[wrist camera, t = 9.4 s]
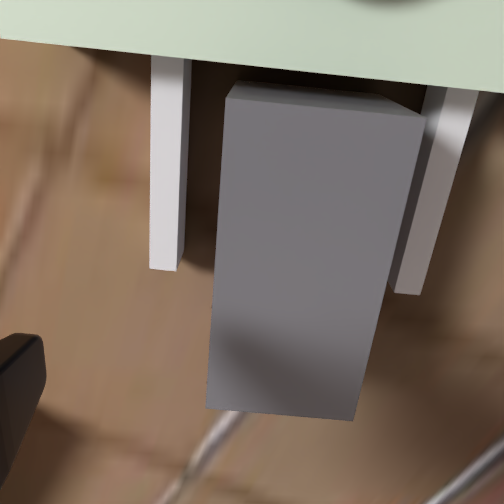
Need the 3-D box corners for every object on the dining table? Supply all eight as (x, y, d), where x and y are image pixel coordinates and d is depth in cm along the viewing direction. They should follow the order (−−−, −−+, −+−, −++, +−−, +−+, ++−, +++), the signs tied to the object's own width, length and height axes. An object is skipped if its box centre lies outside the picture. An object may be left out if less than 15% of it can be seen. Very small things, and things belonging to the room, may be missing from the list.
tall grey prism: (376, 93, 13) (427, 117, 9) (331, 326, 17) (353, 421, 13) (237, 79, 13) (226, 98, 9) (220, 317, 17) (205, 408, 12)
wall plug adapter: (681, -245, 10) (917, -405, 6) (491, 281, 16) (562, 355, 12) (31, -327, 10) (-106, -544, 6) (71, 239, 15) (10, 302, 12)
